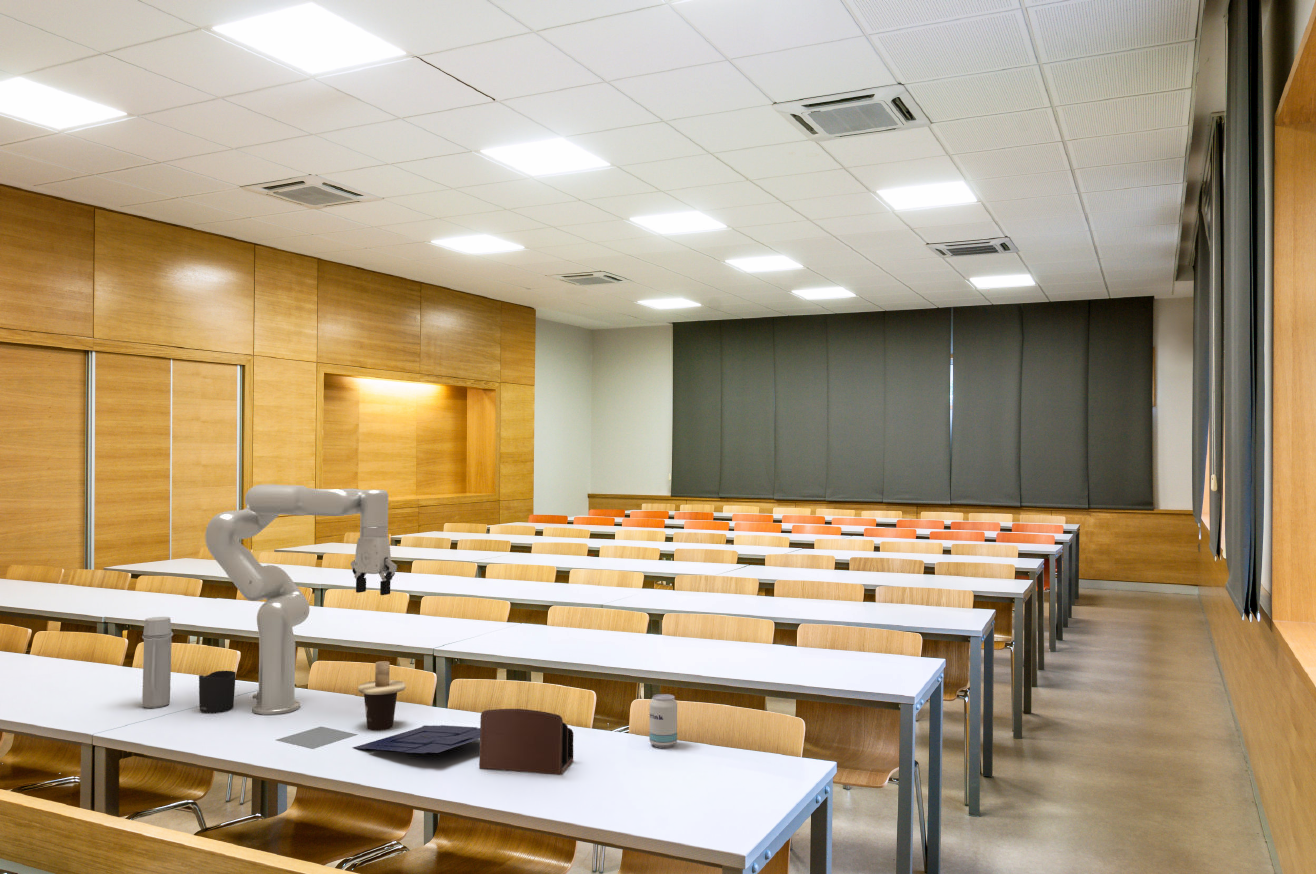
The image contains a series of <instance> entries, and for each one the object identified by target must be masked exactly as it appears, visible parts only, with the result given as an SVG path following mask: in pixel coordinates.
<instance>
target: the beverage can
mask: <svg viewBox="0 0 1316 874" xmlns="http://www.w3.org/2000/svg"><path fill="white" fill-rule="evenodd" d="M675 697H676V696H675V695H673V694H668V693H658V694H654V695H652V698H651V700H650V702H649V739H648V741H649V742H650V744H652V745H653V746H654V747H655V748H660V749H668V748H672V747H673V746H674V745H675V744H676V743H678V702H677V700H676V699H675Z"/></svg>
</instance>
